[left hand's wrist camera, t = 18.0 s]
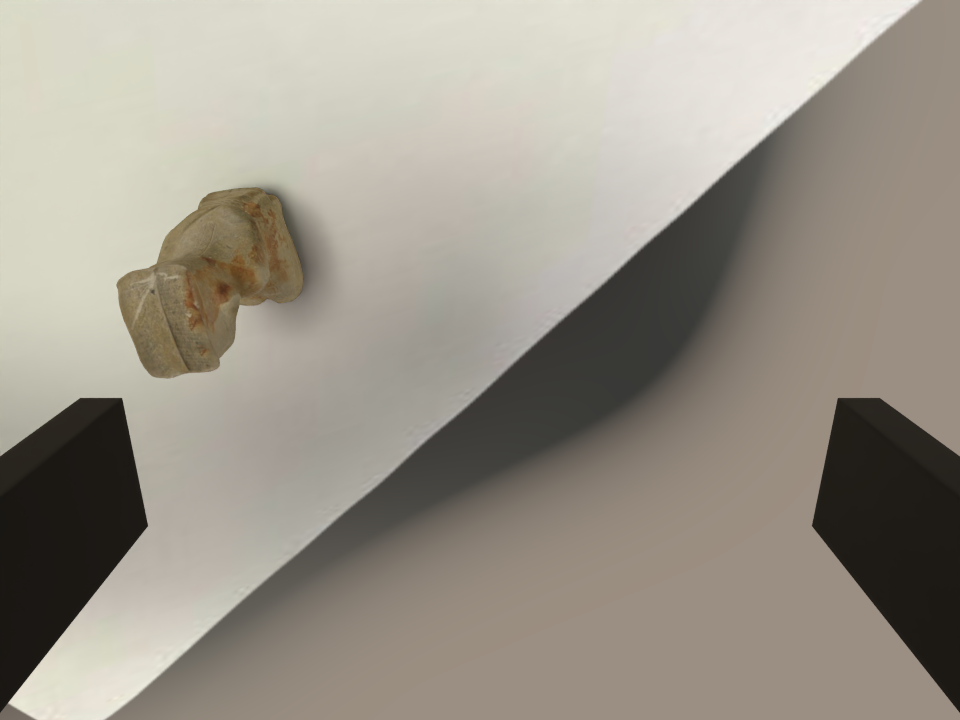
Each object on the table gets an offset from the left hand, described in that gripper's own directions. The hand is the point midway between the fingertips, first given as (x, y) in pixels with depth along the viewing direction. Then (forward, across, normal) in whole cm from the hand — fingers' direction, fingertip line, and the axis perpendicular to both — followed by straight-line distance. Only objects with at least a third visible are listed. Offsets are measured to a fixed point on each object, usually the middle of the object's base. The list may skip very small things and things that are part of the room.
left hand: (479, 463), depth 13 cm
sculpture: (+31, +14, +2) cm, 34 cm away
